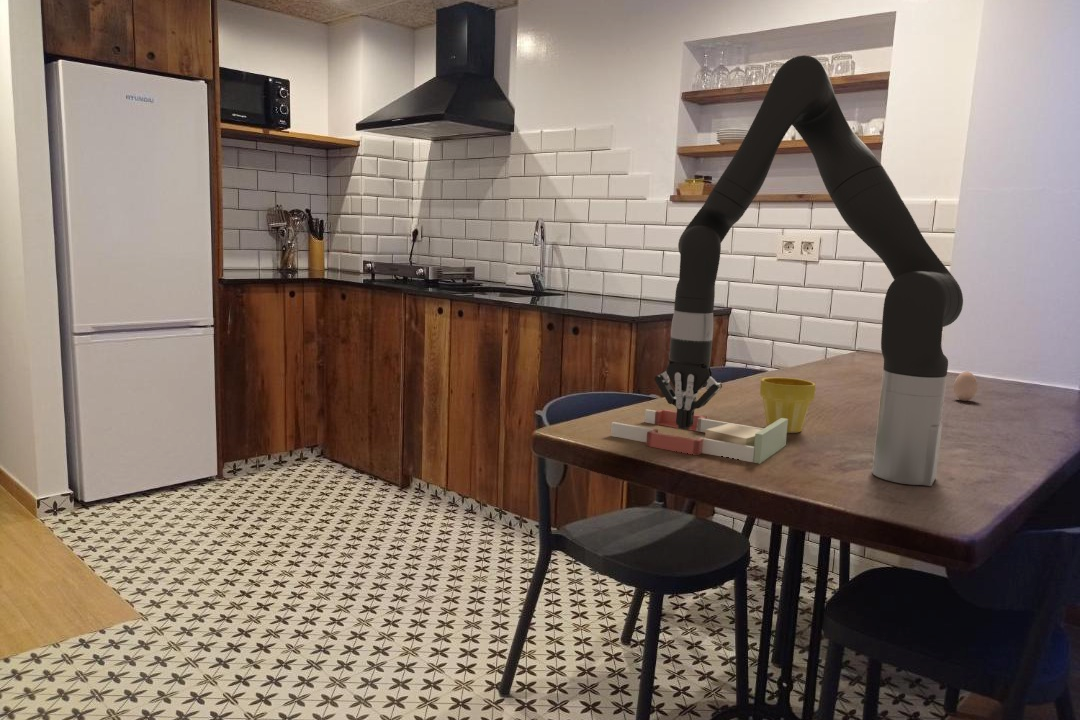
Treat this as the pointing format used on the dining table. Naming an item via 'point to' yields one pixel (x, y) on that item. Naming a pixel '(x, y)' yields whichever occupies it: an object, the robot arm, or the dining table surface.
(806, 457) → the dining table surface
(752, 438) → the birch block
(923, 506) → the dining table surface
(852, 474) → the dining table surface
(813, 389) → the plant pot
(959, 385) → the egg
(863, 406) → the dining table surface
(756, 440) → the trap lane
